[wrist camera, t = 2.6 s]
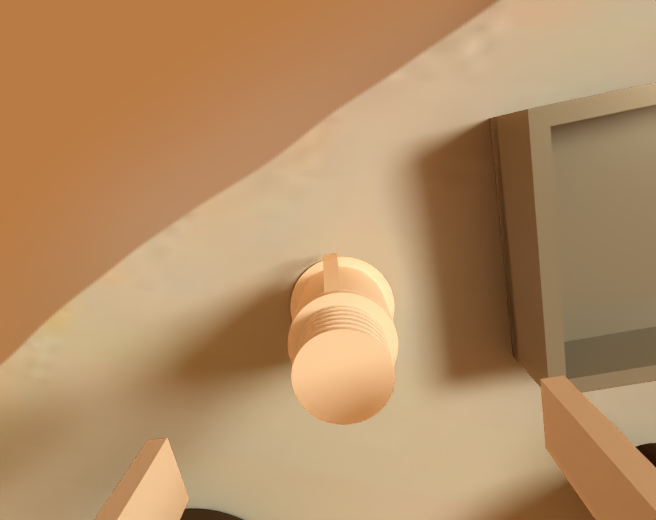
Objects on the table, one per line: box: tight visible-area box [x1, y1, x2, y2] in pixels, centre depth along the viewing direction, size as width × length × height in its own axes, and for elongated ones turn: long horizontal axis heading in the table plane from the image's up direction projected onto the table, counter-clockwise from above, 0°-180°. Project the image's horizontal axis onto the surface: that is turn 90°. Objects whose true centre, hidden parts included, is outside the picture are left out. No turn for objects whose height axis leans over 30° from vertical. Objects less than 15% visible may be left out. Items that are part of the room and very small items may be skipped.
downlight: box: [287, 253, 398, 424], centre depth 23 cm, size 8×7×10 cm
